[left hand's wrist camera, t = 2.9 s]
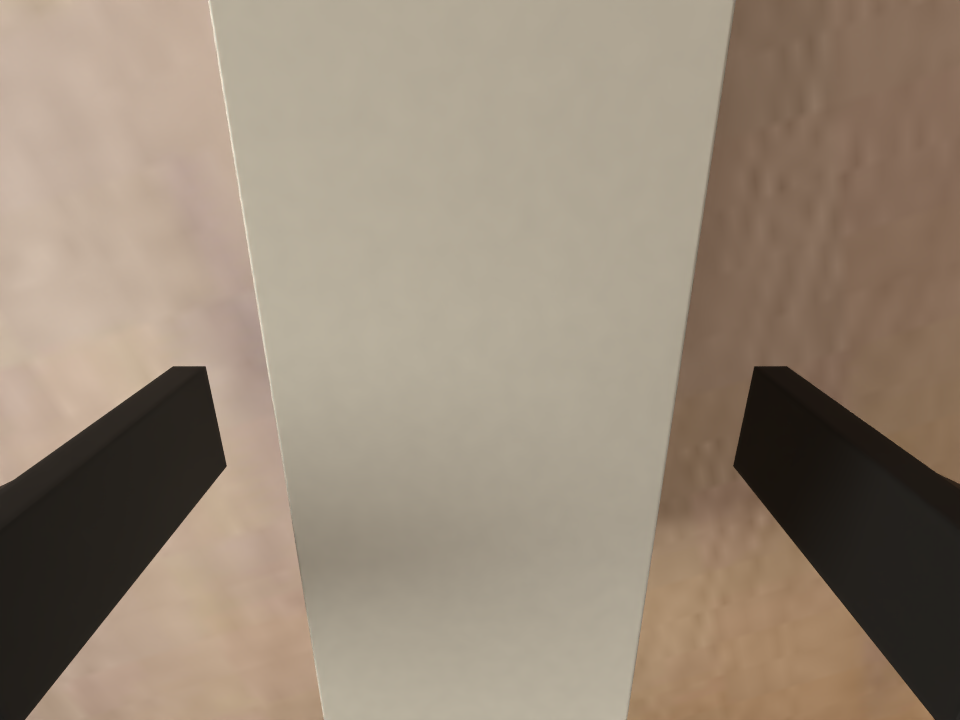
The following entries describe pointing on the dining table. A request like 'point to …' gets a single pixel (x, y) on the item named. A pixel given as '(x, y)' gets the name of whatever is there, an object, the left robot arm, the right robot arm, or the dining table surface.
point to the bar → (473, 327)
